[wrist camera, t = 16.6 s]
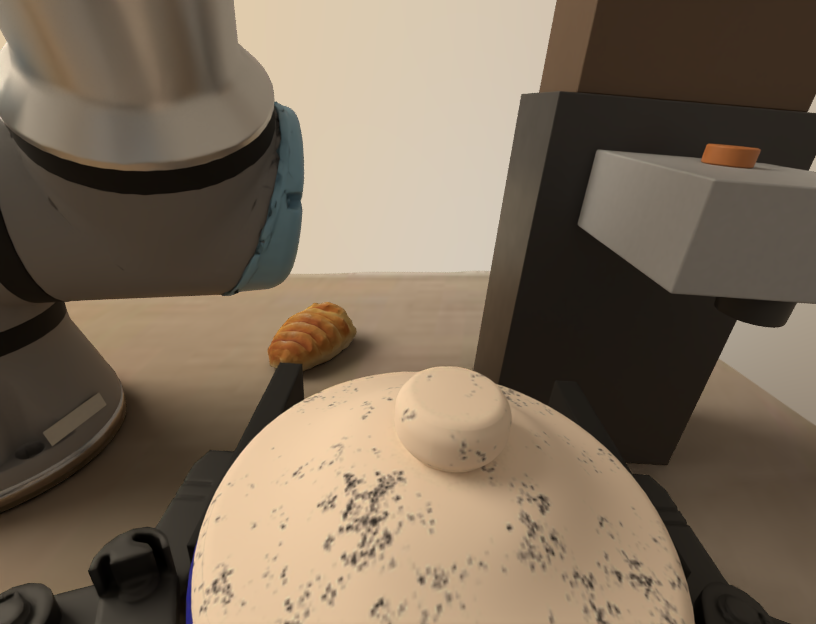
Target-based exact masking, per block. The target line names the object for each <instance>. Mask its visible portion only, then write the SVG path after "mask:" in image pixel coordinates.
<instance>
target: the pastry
mask: <svg viewBox="0 0 816 624" xmlns="http://www.w3.org/2000/svg"><path fill="white" fill-rule="evenodd" d="M356 332H357V331H356V328H355V327H354V326H353V324H352V321H351V319H350V318H349V317H348V316H347V313H346V311H345V310H344V309H343V308H341V307H340V306H338V305H336V304H333V303H330V302H325V303H321V304H318V303H313V305H312V306H310V307H308V308H307V309H306V310H304V311H302V312H300V313H297V314H296V315H293V316H291V317H290V318H288V320H287V321H286V322H285V323H284V324H283V325H282V327H281V328H280V329H279V330H278V332H277V334H276V335H275V336H274V339H273V341H272V343H271V345H270V347H269V348H268V355H269V359H270V366H271V367H275V368H277V367H278V365H279V363H280V362H282V363H297V364H302V366H303V371H305V370H306V369H311V368H313V366H315V365H318V364H321V363H325V362H327V361H329V360H331V358H333V357H335V356H336V355H337V354H339V353H340V352H341V351H342V350H343V349H344V348H345V349H346V348H347V347H348V346H349V345H350V342H351V341H352V340H353V338H354V337H355V335H356Z"/></svg>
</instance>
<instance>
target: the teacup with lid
mask: <svg viewBox="0 0 816 624" xmlns="http://www.w3.org/2000/svg"><path fill="white" fill-rule="evenodd" d="M186 624H695V621H694V613H693V606H692V602H691V598H690V593H689V589H688V584H687V581H686V578H685V575H684V572H683V569H682V566H681V563H680V560H679V557H678V554H677V551H676V549H675V547H674V544H673V542H672V540H671V538H670V535H669V533H668V531H667V529H666V527H665V525H664V523H663V521H662V519H661V518H660V516H659V514H658V512H657V510H656V509H655V507H654V506H653V504H652V503H651V501H650V500H649V498H648V496H647V495H646V493H645V492H644V491H643V489H642V488H641V487H640V485H639V484H638V483H637V482H636V480H635V479H634V478H633V476H632V475H631V474H630V473H629V472H628V471H627V469H626V468H625V467H624V466H623V465H622V464H621V463H620V461H619V460H618V459H617V458H616V457H615V456H614V455H613V454H612V453H611V452H610V451H609V450H608V449H607V448H606V447H604V446H603V445H602V444H601V443H600V442H599V441H598V440H596V439H595V438H594V437H593V436H592V435H591V434H589V433H588V432H587V431H585V430H584V429H583V428H581V427H580V426H579V425H577V424H576V423H574V422H573V421H571V420H570V419H568V418H567V417H566V416H564V415H562V414H561V413H559V412H557V411H556V410H554V409H552V408H551V407H549V406H547V405H545V404H543V403H541V402H539V401H537V400H535V399H533V398H531V397H529V396H526V395H524V394H522V393H520V392H517V391H515V390H512V389H509V388H507V387H504V386H501V385H498V384H495V383H494V382H493V381H491V380H490V379H489V378H487V377H485V376H484V375H482V374H480V373H477V372H475V371H472V370H469V369H465V368H460V367H452V366H441V367H433V368H429V369H426V370H423V371H421V372H395V373H386V374H379V375H373V376H368V377H362V378H358V379H355V380H351V381H347V382H344V383H341V384H338V385H335V386H332V387H330V388H327V389H325V390H323V391H320V392H318V393H316V394H314V395H312V396H310V397H308V398H306V399H304V400H303V401H301V402H299V403H297V404H296V405H294V406H292V407H291V408H290V409H288V410H287V411H285V412H284V413H282V414H281V415H279V416H278V417H277V418H276V419H274V420H273V421H272V422H271V423H270V424H268V425H267V426H266V427H265V428H264V429H263V430H262V431H261V432H260V433H259V434H257V435H256V436H255V437H254V438H253V439H252V441H251V442H250V443H249V444H248V445H247V446H246V447H245V449H244V450H243V451H242V452H241V453H240V455H239V456H238V458H237V459H236V460H235V462H234V463H233V465H232V466H231V467H230V469H229V470H228V472H227V473H226V475H225V477H224V478H223V480H222V482H221V483H220V485H219V487H218V489H217V490H216V492H215V494H214V497H213V499H212V501H211V503H210V505H209V507H208V510H207V512H206V515H205V518H204V521H203V524H202V527H201V530H200V533H199V537H198V540H197V543H196V546H195V550H194V554H193V558H192V563H191V567H190V572H189V580H188V588H187V596H186Z"/></svg>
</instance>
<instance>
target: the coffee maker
mask: <svg viewBox="0 0 816 624" xmlns="http://www.w3.org/2000/svg"><path fill="white" fill-rule="evenodd" d="M815 95H816V0H557V2H556V7H555V12H554V18H553V23H552V28H551V34H550V39H549V44H548V49H547V54H546V59H545V65H544V70H543V75H542V80H541V86H540V91H539V93H530V94H522V95H521V100H520V106H519V111H518V117H517V123H516V129H515V134H514V140H513V146H512V152H511V157H510V163H509V169H508V175H507V180H506V186H505V192H504V197H503V203H502V209H501V215H500V220H499V226H498V233H497V238H496V243H495V249H494V255H493V260H492V266H491V272H490V278H489V283H488V289H487V295H486V300H485V306H484V312H483V318H482V323H481V329H480V335H479V341H478V346H477V352H476V358H475V363H474V369H473V371H475V372H477V373H480V374H482V375H484V376H485V377H487V378H489V379H490V380H491V381H493V382H494V383H495V384H498V385H501V386H504V387H507V388H509V389H512V390H515V391H517V392H520V393H522V394H524V395H526V396H529V397H531V398H533V399H535V400H537V401H539V402H541V403H543V404H545V405H547V406H548V404H549V400H550V397H551V393H552V389H553V386H554V382H555V380H558V381H573V382H577V383H578V385H579V386H580V388H581V390H582V391H583V393H584V395H585V396H586V398H587V400H588V401H589V403H590V405H591V406H592V408H593V409H594V411H595V413H596V414H597V416H598V418H599V419H600V421H601V423H602V424H603V426H604V428H605V429H606V431H607V433H608V434H609V436H610V438H611V439H612V441H613V443H614V444H615V446H616V448H617V449H618V451H619V453H620V454H621V456H622V458H623V459H624V461H625V462H629V463H645V464H662V465H667V464H668V463H669V460H670V458H671V456H672V454H673V452H674V450H675V448H676V446H677V444H678V442H679V440H680V437H681V435H682V433H683V431H684V429H685V427H686V425H687V423H688V421H689V419H690V417H691V415H692V412H693V410H694V408H695V406H696V404H697V402H698V400H699V398H700V396H701V394H702V392H703V390H704V387H705V385H706V383H707V381H708V379H709V377H710V375H711V373H712V371H713V369H714V367H715V365H716V362H717V360H718V358H719V356H720V354H721V352H722V350H723V348H724V346H725V344H726V342H727V339H728V337H729V335H730V333H731V331H732V329H733V327H734V325H735V323H736V321H737V320H739V321H742V322H745V323H749V324H753V325H757V326H763V327H773V328H775V327H781V326H784V325H785V324H786V322H787V320H788V318H789V317H790V315H791V313H792V311H793V309H794V307H795V305H796V304H797V303H810V304H816V172H812V171H809V169H810V166H811V164H812V162H813V160H814V158H815V156H816V113H809V112H808V110H809V108H810V106H811V104H812V101H813V99H814V97H815Z"/></svg>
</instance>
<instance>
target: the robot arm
mask: <svg viewBox="0 0 816 624" xmlns="http://www.w3.org/2000/svg"><path fill="white" fill-rule="evenodd" d="M0 29H1V31H2V33H3V35H4V37H5V39H6V40H7V42H6V43H5V45H4V46H3V48H2V49H1V51H0V513H1V512H3V511H5V510H8V509H10V508H12V507H14V506H17V505H19V504H21V503H23V502H25V501H27V500H29V499H31V498H33V497H35V496H37V495H39V494H41V493H43V492H45V491H46V490H48V489H50V488H52V487H53V486H55V485H57V484H58V483H60V482H62V481H63V480H65V479H66V478H68V477H69V476H71V475H72V474H74V473H75V472H77V471H78V470H79V469H81V468H82V467H83V466H84V465H86V464H87V463H88V462H90V461H91V460H92V459H93V458H94V457H95V456H96V455H98V454H99V453H100V452H101V451H102V450H103V449H104V448H105V447H106V446H107V444H108V443H109V442H110V441H111V440H112V439H113V437H114V436H115V435H116V433H117V432H118V430H119V428H120V427H121V425H122V423H123V420H124V418H125V414H126V407H127V404H126V398H125V395H124V391H123V388H122V384H121V382H120V380H119V378H118V377H117V375H116V373H115V371H114V370H113V369H112V368H111V366H110V365H109V364H108V363H107V362H106V361H105V360H104V358H103V357H102V356H101V355H100V353H99V352H98V351H97V350H96V348H95V347H94V346H93V345H92V344H91V343H90V341H89V340H88V339H87V338H86V337H85V335H84V334H83V333H82V332H81V331H80V330H79V328H78V327H77V326H76V325H75V324H74V322H73V321H72V320H71V319H70V317H69V315H68V312H67V309H66V306H65V303H64V302H69V301H80V300H102V299H127V298H151V297H175V296H200V295H222V296H231V295H234V294H236V293H238V292H242V291H252V290H262V289H269V288H273V287H275V286H277V285H279V284H281V283H282V282H283V281H284V280H285V279H286V278H287V277H288V275H289V274H290V272H291V270H292V268H293V265H294V262H295V258H296V254H297V250H298V244H299V238H300V230H301V222H302V206H301V198H302V192H303V184H304V156H303V141H302V134H301V129H300V124H299V120H298V118H297V115H296V114H295V112H294V111H293V110H291V109H290V108H289V107H286V106H283V105H281V104H279V103H277V102H274V92H273V86H272V83H271V81H270V78H269V76H268V74H267V72H266V71H265V69H264V68H263V67H262V65H261V64H260V63H259V62H258V61H257V60H256V59H255V58H254V57H253V56H252V55H251V54H250V53H249V52H248V51H246V50H245V49H244V48H243V47H242V46H241V45H240V44H238V41H237V30H236V20H235V10H234V0H0ZM303 400H304V389H303V366H302V364H297V363H282V362H280V363H279V365H278V367H277V369H276V371H275V373H274V375H273V377H272V379H271V381H270V383H269V385H268V387H267V389H266V391H265V392H264V394H263V396H262V398H261V400H260V402H259V404H258V406H257V408H256V410H255V412H254V414H253V416H252V418H251V420H250V422H249V424H248V426H247V428H246V430H245V432H244V434H243V436H242V438H241V440H240V442H239V444H238V445H237V447H236V449H235V451H234V452H232V451H216V450H210V451H209V452H208V453H206V454H205V455H204V456H203V457H202V458H200V459H199V460H198V461H197V462H196V463H195V464H194V465H193V467H192V468H191V470H190V472H189V473H188V475H187V476H186V478H185V480H184V483H183V484H182V485H181V486H180V488H179V490H178V491H177V493H176V496H175V498H173V500H172V501H171V503H170V505H169V506H168V508H167V510H166V511H165V513H164V515H163V516H162V518H161V520H160V521H159V523H158V524H157V526H156V528H151V527H143V528H136V529H132V530H130V531H127V532H125V533H123V534H120V535H118V536H117V537H115V538H114V539H113V540H111V541H110V542H109V543H107V544H106V545H104V547H103V548H102V549H101V550H100V551H99V552H98V554H97V555H96V556H95V557H94V558H93V561H92V563H91V565H90V568H89V570H88V572H89V575H90V577H91V579H92V582H93V584H94V585H92V586H88V587H84V588H80V589H76V590H72V591H68V592H64V593H60V594H57V595H53V593H52V591H51V589H50V588H48V587H47V586H45V585H43V584H39V583H27V584H24V585H20V586H16V587H13V588H11V589H9V590H7V591H5V592H3V593H1V594H0V624H186V596H187V588H188V580H189V572H190V567H191V563H192V558H193V554H194V550H195V546H196V543H197V540H198V537H199V533H200V530H201V527H202V524H203V521H204V518H205V515H206V512H207V510H208V507H209V505H210V503H211V501H212V499H213V497H214V494H215V492H216V490H217V489H218V487H219V485H220V483H221V482H222V480H223V478H224V477H225V475H226V473H227V472H228V470H229V469H230V467H231V466H232V465H233V463H234V462H235V460H236V459H237V458H238V456H239V455H240V453H241V452H242V451H243V450H244V449H245V447H246V446H247V445H248V444H249V443H250V442H251V441H252V439H253V438H254V437H255V436H256V435H257V434H259V433H260V432H261V431H262V430H263V429H264V428H265V427H266V426H267V425H268V424H270V423H271V422H272V421H273V420H274V419H276V418H277V417H278V416H279V415H281V414H282V413H284V412H285V411H287V410H288V409H290V408H291V407H292V406H294V405H296V404H297V403H299V402H301V401H303ZM548 406H549V407H551V408H552V409H554V410H556V411H557V412H559V413H561V414H562V415H564V416H566V417H567V418H568V419H570V420H571V421H573V422H574V423H576V424H577V425H579V426H580V427H581V428H583V429H584V430H585V431H587V432H588V433H589V434H591V435H592V436H593V437H594V438H595V439H596V440H598V441H599V442H600V443H601V444H602V445H603V446H604V447H606V448H607V449H608V450H609V451H610V452H611V453H612V454H613V455H614V456H615V457H616V458H617V459H618V460H619V461H620V463H621V464H622V465H623V466H624V467H625V468H626V469H627V471H628V472H629V473H630V474H631V475H632V476H633V478H634V479H635V480H636V482H637V483H638V484H639V485H640V487H641V488H642V489H643V491H644V492H645V493H646V495H647V496H648V498H649V500H650V501H651V503H652V504H653V506H654V507H655V509H656V510H657V512H658V514H659V516H660V518H661V519H662V521H663V523H664V525H665V527H666V529H667V531H668V533H669V535H670V538H671V540H672V542H673V544H674V547H675V549H676V551H677V554H678V557H679V560H680V563H681V566H682V569H683V572H684V575H685V578H686V581H687V584H688V589H689V593H690V598H691V602H692V606H693V613H694V621H695V624H790V623H787V622H784V621H781V620H778V619H776V618H773V617H771V616H769V615H768V613H767V612H766V611H765V610H764V609H763V607H762V606H761V605H760V604H759V603H758V602H757V601H755V600H754V599H753V598H752V597H750V596H749V595H748V594H747V593H745V592H743V591H742V590H740V589H738V588H736V587H734V586H733V585H729V584H728V583H727V581H726V580H725V579H724V577H723V576H722V574H721V573H720V571H719V570H718V568H717V567H716V565H715V564H714V562H713V561H712V559H711V558H710V556H709V555H708V553H707V552H706V550H705V549H704V547H703V546H702V544H701V543H700V541H699V540H698V538H697V537H696V535H695V534H694V532H693V531H692V529H691V528H690V526H688V525H687V522H686V520H685V519H684V517H683V516H682V514H681V512H680V511H678V510H677V506H676V505H675V503H674V502H673V500H672V499H671V497H670V496H669V494H668V493H667V491H666V490H665V489H664V488H663V487H662V486H660V485H659V484H658V483H657V482H656V481H655V480H654V479H653V478H652V477H650V476H649V475H639V474H632V473H631V471H630V469H629V468H628V466H627V464H626V463H625V461H624V459H623V458H622V456H621V454H620V453H619V451H618V449H617V448H616V446H615V444H614V443H613V441H612V439H611V438H610V436H609V434H608V433H607V431H606V429H605V428H604V426H603V424H602V423H601V421H600V419H599V418H598V416H597V414H596V413H595V411H594V409H593V408H592V406H591V405H590V403H589V401H588V400H587V398H586V396H585V395H584V393H583V391H582V390H581V388H580V386H579V385H578V383H577V382H573V381H558V380H555V382H554V386H553V389H552V393H551V397H550V400H549V404H548Z"/></svg>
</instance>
